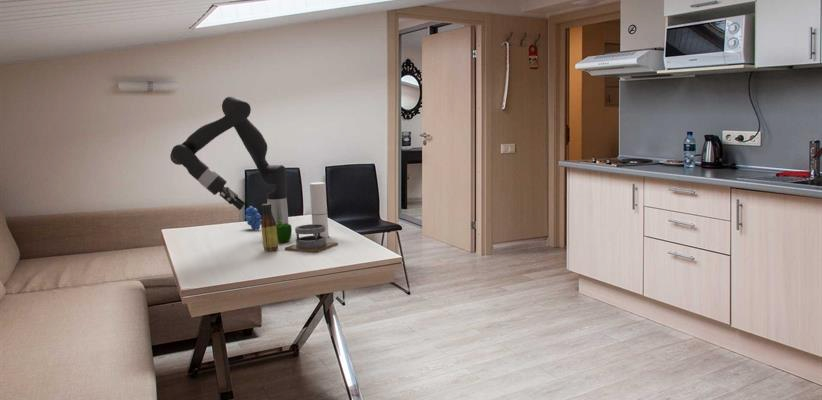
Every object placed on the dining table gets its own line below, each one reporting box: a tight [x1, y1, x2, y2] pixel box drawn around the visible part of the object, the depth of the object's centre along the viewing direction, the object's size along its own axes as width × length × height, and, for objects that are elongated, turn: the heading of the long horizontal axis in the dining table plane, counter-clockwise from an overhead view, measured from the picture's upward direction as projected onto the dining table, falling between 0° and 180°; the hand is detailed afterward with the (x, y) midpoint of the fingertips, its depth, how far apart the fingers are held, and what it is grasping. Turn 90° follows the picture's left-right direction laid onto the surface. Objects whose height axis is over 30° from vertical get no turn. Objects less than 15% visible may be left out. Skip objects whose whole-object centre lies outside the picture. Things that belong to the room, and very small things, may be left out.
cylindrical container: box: [309, 181, 330, 238], centre depth 294 cm, size 7×7×25 cm
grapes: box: [244, 205, 262, 230], centre depth 320 cm, size 12×7×12 cm, turn 51°
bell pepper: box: [276, 220, 293, 244], centre depth 287 cm, size 8×8×10 cm
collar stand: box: [284, 223, 339, 254], centre depth 271 cm, size 16×16×9 cm
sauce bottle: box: [260, 203, 279, 252], centre depth 269 cm, size 7×6×20 cm
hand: (242, 206), depth 266 cm, fingers open, 8 cm apart
